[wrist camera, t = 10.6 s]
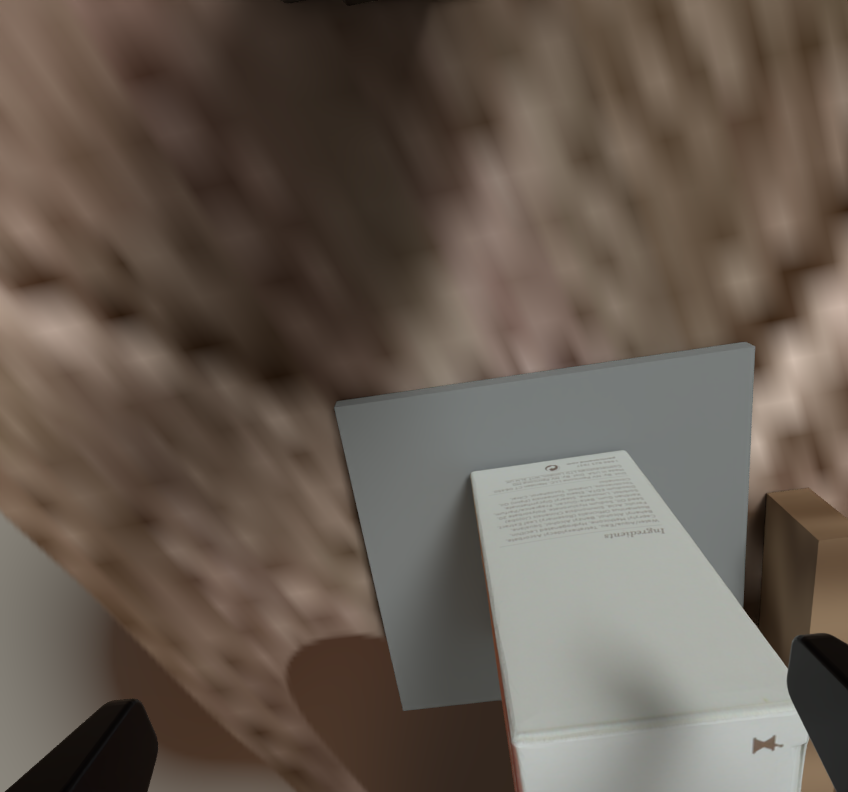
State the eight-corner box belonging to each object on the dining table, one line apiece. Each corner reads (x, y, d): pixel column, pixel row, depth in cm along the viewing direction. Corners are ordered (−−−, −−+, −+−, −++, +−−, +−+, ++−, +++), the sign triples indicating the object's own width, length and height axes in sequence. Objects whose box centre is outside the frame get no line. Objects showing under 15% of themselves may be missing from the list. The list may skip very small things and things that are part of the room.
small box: (467, 466, 20) (505, 737, 10) (627, 444, 20) (825, 701, 10) (494, 643, 23) (544, 989, 13) (635, 626, 23) (795, 969, 13)
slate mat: (336, 401, 20) (334, 407, 19) (745, 341, 19) (755, 346, 19) (403, 699, 25) (403, 711, 24) (732, 661, 24) (739, 673, 23)
